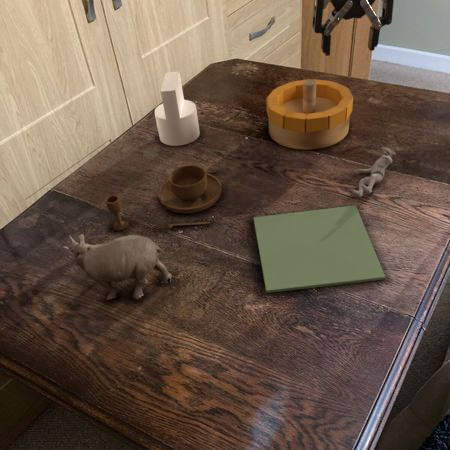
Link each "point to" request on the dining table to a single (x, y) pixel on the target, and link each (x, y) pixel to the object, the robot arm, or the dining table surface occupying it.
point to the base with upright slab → (176, 113)
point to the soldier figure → (374, 172)
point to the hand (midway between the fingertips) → (348, 51)
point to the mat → (315, 249)
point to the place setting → (179, 194)
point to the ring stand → (307, 106)
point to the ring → (311, 120)
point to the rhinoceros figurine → (119, 261)
